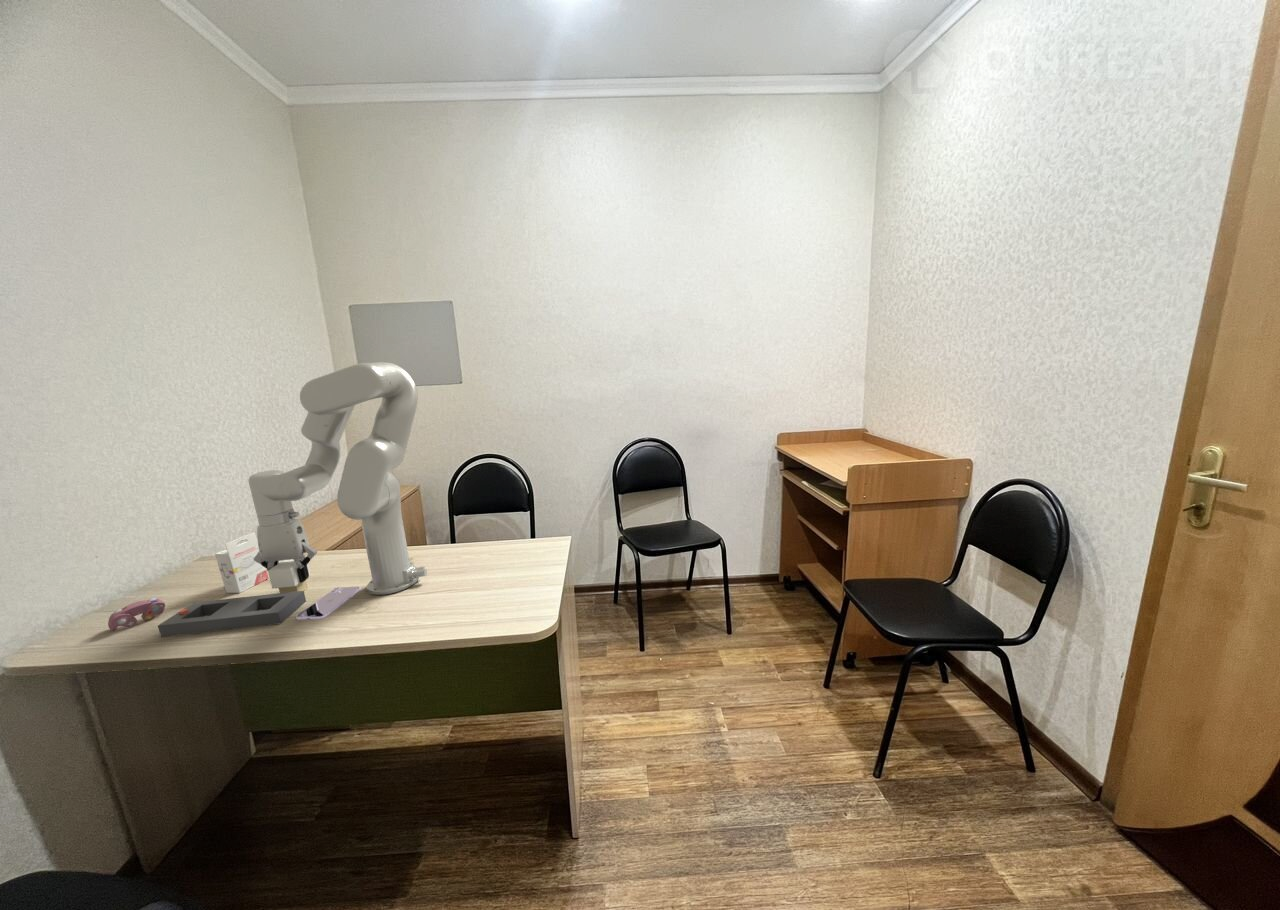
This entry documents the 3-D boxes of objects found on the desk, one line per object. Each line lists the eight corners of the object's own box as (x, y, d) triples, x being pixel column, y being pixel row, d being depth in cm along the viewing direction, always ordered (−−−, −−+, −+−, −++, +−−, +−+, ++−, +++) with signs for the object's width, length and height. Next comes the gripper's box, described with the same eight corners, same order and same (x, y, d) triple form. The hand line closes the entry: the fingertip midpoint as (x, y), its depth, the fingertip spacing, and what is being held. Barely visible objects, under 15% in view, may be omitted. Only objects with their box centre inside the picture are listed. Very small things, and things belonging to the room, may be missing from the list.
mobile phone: (293, 617, 113) (335, 586, 127) (293, 620, 113) (336, 589, 128) (322, 616, 112) (362, 585, 127) (323, 620, 112) (363, 589, 127)
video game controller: (114, 639, 112) (109, 619, 109) (107, 627, 113) (102, 607, 110) (170, 619, 120) (167, 599, 117) (162, 608, 121) (159, 588, 118)
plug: (312, 585, 130) (306, 557, 128) (298, 598, 123) (291, 568, 121) (291, 587, 129) (284, 559, 128) (275, 600, 123) (267, 570, 121)
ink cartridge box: (255, 578, 137) (243, 531, 134) (269, 578, 136) (257, 531, 133) (224, 593, 129) (210, 543, 126) (239, 593, 128) (225, 543, 125)
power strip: (306, 601, 121) (303, 588, 121) (281, 623, 111) (277, 610, 111) (197, 613, 119) (193, 600, 118) (161, 637, 109) (156, 623, 108)
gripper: (319, 510, 126) (333, 571, 130) (251, 516, 124) (266, 578, 128) (303, 519, 119) (318, 584, 123) (230, 526, 117) (247, 592, 121)
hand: (291, 580), depth 126 cm, fingers closed on plug, 5 cm apart
